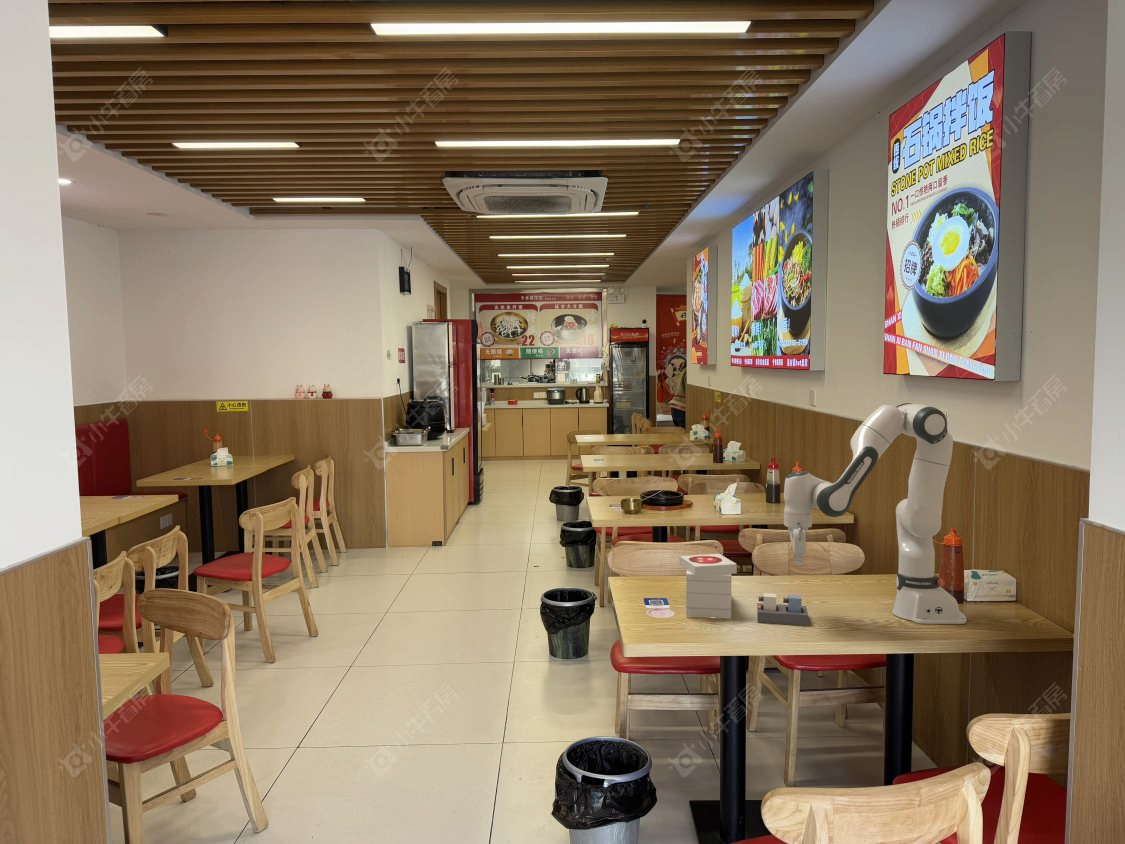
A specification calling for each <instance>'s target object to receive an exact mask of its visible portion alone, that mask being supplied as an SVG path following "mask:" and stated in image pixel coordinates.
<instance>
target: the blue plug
mask: <svg viewBox="0 0 1125 844" xmlns="http://www.w3.org/2000/svg"><path fill="white" fill-rule="evenodd" d="M782 600H783V601H782V603H783V604H787V605H788V612H797V613H801V606H802V596H801V594H788V595H787V597H783V599H782Z"/></svg>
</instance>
